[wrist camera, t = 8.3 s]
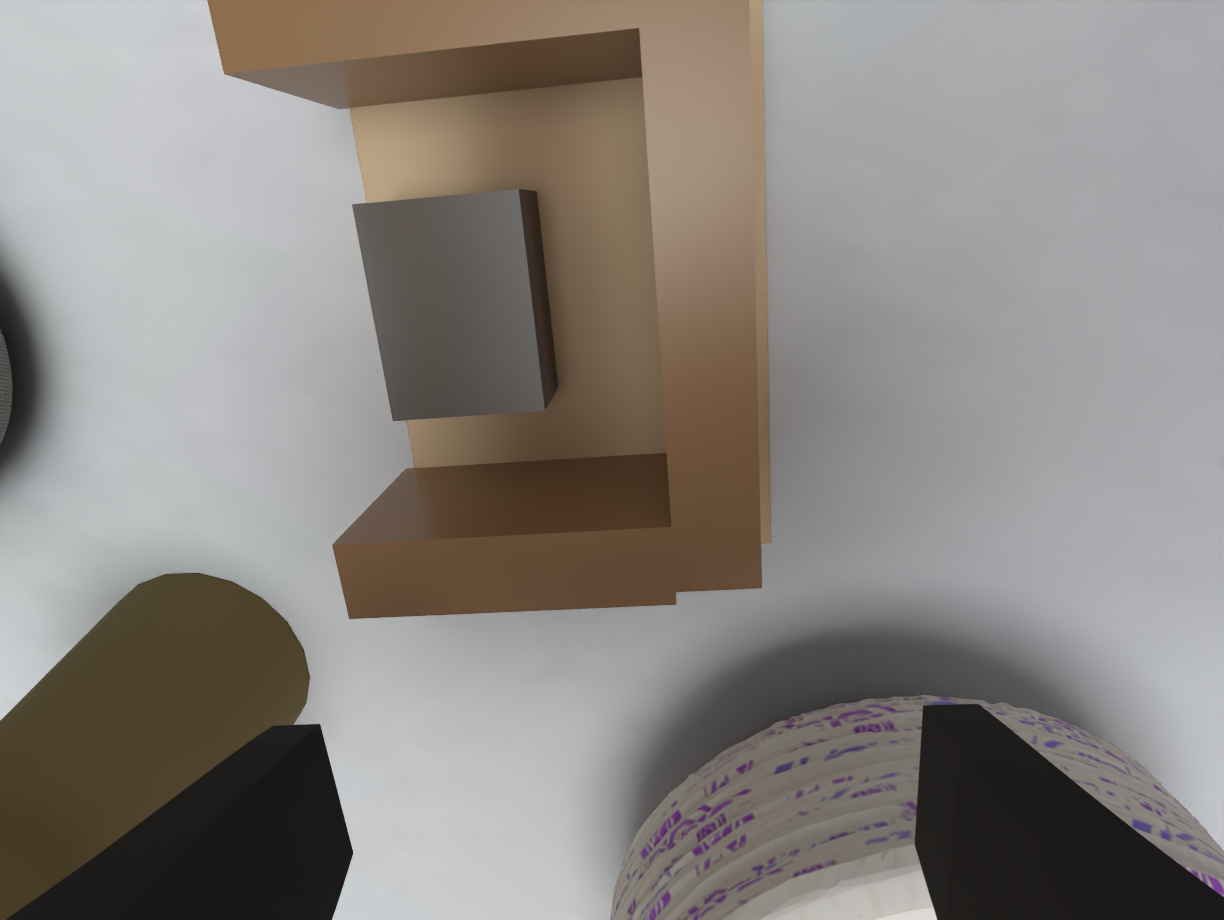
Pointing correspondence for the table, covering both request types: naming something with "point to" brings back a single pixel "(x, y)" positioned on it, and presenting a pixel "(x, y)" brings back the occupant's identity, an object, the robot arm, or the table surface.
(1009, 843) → the robot arm
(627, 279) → the display stand
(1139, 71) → the table surface
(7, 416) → the smart speaker
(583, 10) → the wooden c-shaped bracket
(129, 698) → the olive pepper mill
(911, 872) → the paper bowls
